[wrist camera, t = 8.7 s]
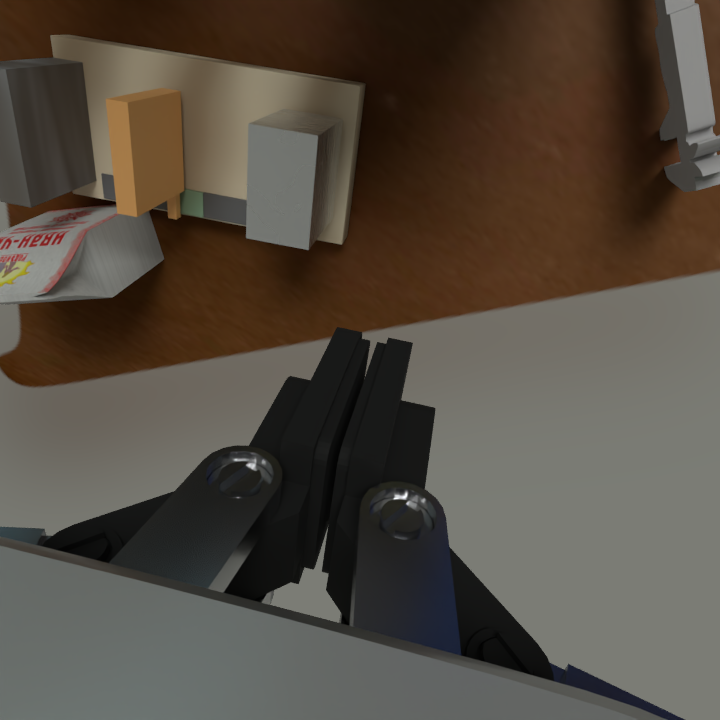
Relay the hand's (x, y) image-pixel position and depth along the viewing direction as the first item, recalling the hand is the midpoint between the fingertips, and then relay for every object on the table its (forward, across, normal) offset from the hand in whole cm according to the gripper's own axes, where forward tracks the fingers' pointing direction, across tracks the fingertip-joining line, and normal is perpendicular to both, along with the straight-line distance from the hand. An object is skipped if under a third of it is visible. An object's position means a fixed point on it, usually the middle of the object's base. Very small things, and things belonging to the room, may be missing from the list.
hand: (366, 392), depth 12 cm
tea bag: (+21, +20, +7) cm, 29 cm away
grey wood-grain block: (+19, +6, 0) cm, 20 cm away
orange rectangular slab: (+19, +14, +1) cm, 23 cm away
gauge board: (+20, +12, 0) cm, 24 cm away
